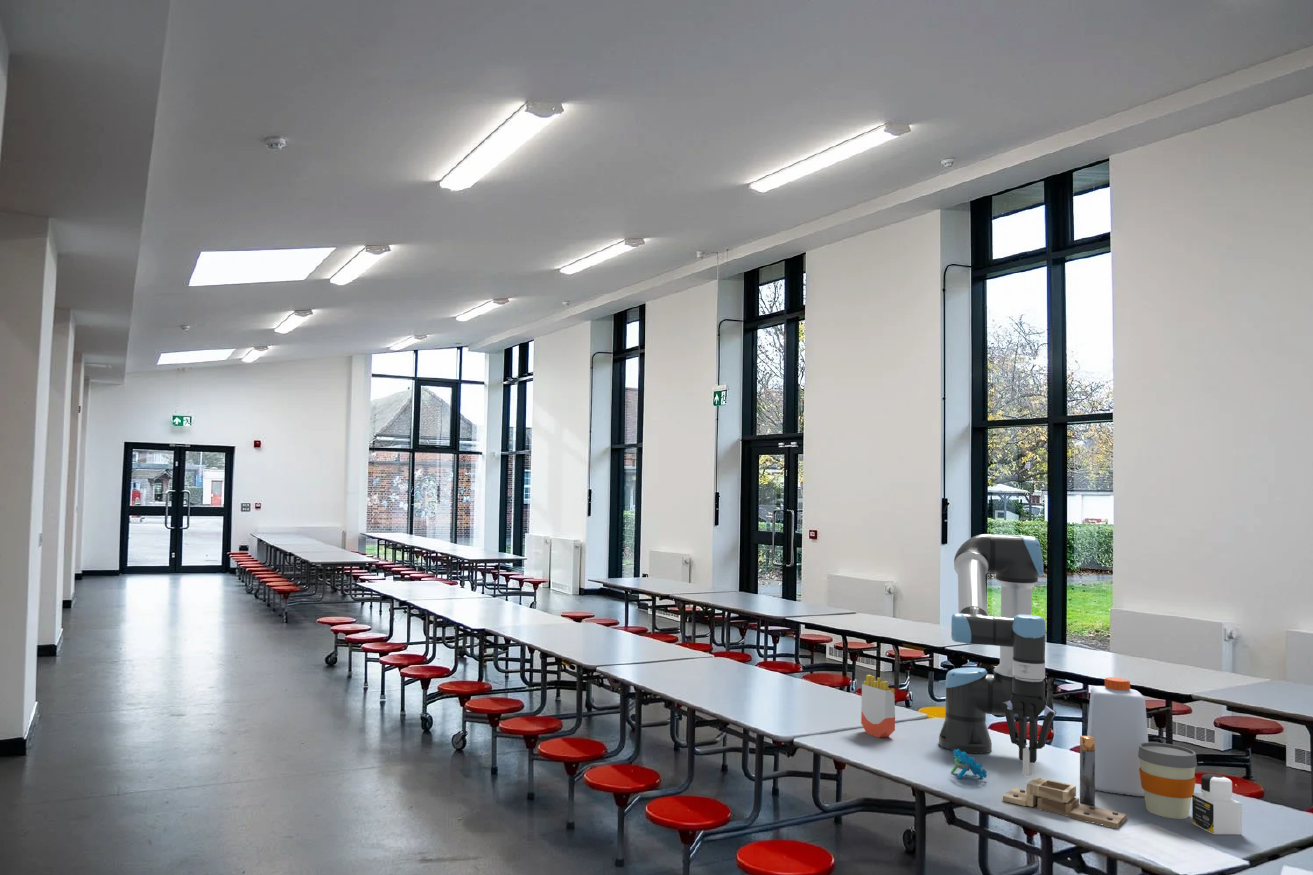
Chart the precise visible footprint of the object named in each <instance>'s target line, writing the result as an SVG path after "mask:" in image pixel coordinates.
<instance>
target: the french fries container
mask: <svg viewBox="0 0 1313 875" xmlns="http://www.w3.org/2000/svg"><path fill="white" fill-rule="evenodd" d="M881 678H882V677H876V676H873V675H871V674H866V676H865V680H864V681H863V682H862V683H861V713H860V714H861V715H860V717H861V718H860V719H861V720H860V724H861V725H862V728H863V729H864V731H865V733H866V734H868V735H871V736H874V737H876V738H879V739H880V738H886V737H890V736H891V735H892V734H893V733H894V732H895V731H896V707H895V706H896V705H895V688H892V687H890V688H889V681H887V680H886V681H885V680H883V681H882V679H881Z"/></svg>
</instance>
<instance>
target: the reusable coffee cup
mask: <svg viewBox="0 0 1313 875" xmlns="http://www.w3.org/2000/svg"><path fill="white" fill-rule="evenodd" d="M1138 757H1139V758H1140V765H1141V767H1140V768H1139V771H1140V779H1141V786H1142V788H1143V789H1144V795H1145V796H1144V800H1145V808H1146V810H1147V811H1148V813H1151V814H1153V815H1156V816H1159V817H1163V818H1169V819H1179V820H1183V819H1187V817H1188V818H1189V816H1190V815H1189V814H1190V809H1191V803H1192V802H1191V801H1192V794H1193V793H1195V787H1196V780H1197V777H1196V776H1195V771H1196V768H1197V766H1198V762H1197V753H1196V752H1195V751H1194V750H1192V749H1190V748H1187V747H1184V746H1181V745H1175V744H1171V743H1162V742H1148V743H1141V744H1139V751H1138Z"/></svg>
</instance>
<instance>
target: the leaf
mask: <svg viewBox="0 0 1313 875" xmlns="http://www.w3.org/2000/svg"><path fill="white" fill-rule="evenodd" d="M1038 797H1044V798H1048V799H1052V800H1057V801H1061V802H1066V803H1068V802H1069V801H1070V800H1071V799H1073V798H1074V797H1077V785H1074V784H1069V783H1065V782H1061V781H1056V780H1051V779H1048V778H1044V777H1043V778H1041V777H1037V776H1036V777H1034V778H1033V779H1031V780H1029V781H1028V782H1026V789H1022V788H1017V787H1014V788H1012V789H1011V790H1009V791H1008V792H1006V793H1005V794H1003V795H1002V802H1006V803H1011V804H1014V805H1015V804H1016V805H1019V806H1023V807H1026V806H1028V807H1031V808H1032V807H1033V808H1034V806H1036V805H1038Z"/></svg>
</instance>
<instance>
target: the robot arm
mask: <svg viewBox="0 0 1313 875" xmlns="http://www.w3.org/2000/svg"><path fill="white" fill-rule="evenodd" d="M953 558H954V559H953V567H954V568H953V569H954V571H955V573H956V574H957V596H958V597H957V598H958V599H957V600H958V605H957V606H958V607H957V608H958V609H957V610H958V613H953V614H952V615H951V622H950V625H951V627H950V628H951V631H950V632H951V634H950V635H951V636H950V637H951V640H952V641H953V642H955V643H961V644H962V643H963V644H966V645H984V646H985V645H986V646H994V647H995V646H996V647H999V664H997V666H995V667H994V670H993V674H989V673H988V671H987V670H986V668H983V667H960V668H959V667H958V668H953V669H951V670H948V671H947V673H946V676H945V685H944V687H945V708H944V710H945V714H944V715H945V716H944V717H945V718H944V721H943V724H942V726H941V730H940V732H939V735H938V745H939V746H940V747H942V748H945V749H947V750H950V751H954V750H955V749H956V750H957V749H959V750H961V752H969V753H968V754H985V753H986V752H987V753H990V752H992V748H993V747H992V739H991V736H990V732H989V729H988V726H987V722H986V721H987V720H986V719H987V718H986V717H987V715H995V716H996V715H997V716H1005V719H1006V725H1007V728H1008V734H1009V737H1010V743H1011V744H1013V745H1017V747H1018V759H1019V761H1021V762H1022V776H1023V777H1028V778H1029V777H1031V776H1032V775H1033V764H1035V763H1036V762H1037V758H1038V757H1037V755H1038V754H1037V750H1041V749H1042V748H1044V747H1045V746H1046V743H1047V739H1048V736H1049V732H1050V728H1051V724H1052V720H1053V719H1054V717H1056V715H1057V711H1056V710H1054V709H1052V708H1050V707H1049V706H1048V702H1047V700H1046V699H1045V698H1046V682H1045V680H1044V679H1045V678H1046V634H1047V629H1046V619H1045V618H1044V617H1042V616H1038V615H1033V614H1032V611H1033V610H1032V609H1033V604H1032V603H1033V587H1034V586H1035V585H1037V584H1038V582H1039V577H1042V576H1044V572H1045V571H1044V561H1043V560H1044V559H1043V554H1042V548H1041V543H1040V541H1039V539H1038V538H1037V537H1035V536H1030V535H1022V534H991V533H982V534H977V535H975V536H972V537H971V538H969V539H967V540H966V541H964V542H963V543H962V544H961V545H960V547H958V549H957V551H956V553H955V555H954V557H953ZM987 573H988V574H995V580H996V581H997V582H998V583H999V584H1000V616H994V615H993V616H992V615H989V613H988V598H987V585H986V584H987V580H986V575H987ZM1042 712H1044V713H1043V715H1044V718H1043V721H1042V725H1041V729H1040V732H1039V737H1038V725H1039V724H1038V721H1039V717H1040V715H1041V713H1042ZM1015 718H1017V719H1018V728H1017V725H1016V724H1017V723H1016V719H1015ZM1028 722H1029V724H1028ZM1028 726H1029V727H1028ZM1027 727H1028V728H1029V729H1028V728H1027ZM1027 729H1028V730H1029V735H1028V733H1027V732H1028V731H1027ZM1027 735H1028V738H1027ZM1027 739H1028V740H1029V741H1028V743H1027ZM1027 745H1028V746H1027ZM987 753H986V754H987Z"/></svg>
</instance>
